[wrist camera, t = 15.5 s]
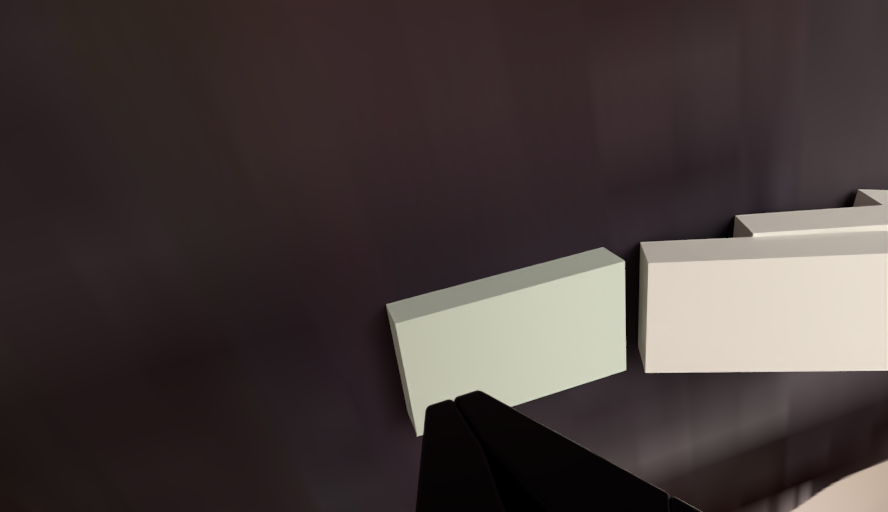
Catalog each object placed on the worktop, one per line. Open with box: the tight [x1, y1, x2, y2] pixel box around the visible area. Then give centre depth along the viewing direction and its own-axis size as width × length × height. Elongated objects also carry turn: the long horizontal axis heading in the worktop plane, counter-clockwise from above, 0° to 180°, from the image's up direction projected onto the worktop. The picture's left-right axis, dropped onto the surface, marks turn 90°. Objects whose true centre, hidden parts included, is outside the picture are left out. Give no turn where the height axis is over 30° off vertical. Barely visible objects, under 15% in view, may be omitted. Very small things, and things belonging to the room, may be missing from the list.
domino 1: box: [386, 247, 626, 437], centre depth 23 cm, size 2×5×9 cm
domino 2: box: [733, 205, 888, 238], centre depth 25 cm, size 2×5×9 cm
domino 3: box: [638, 231, 888, 373], centre depth 23 cm, size 2×5×9 cm
